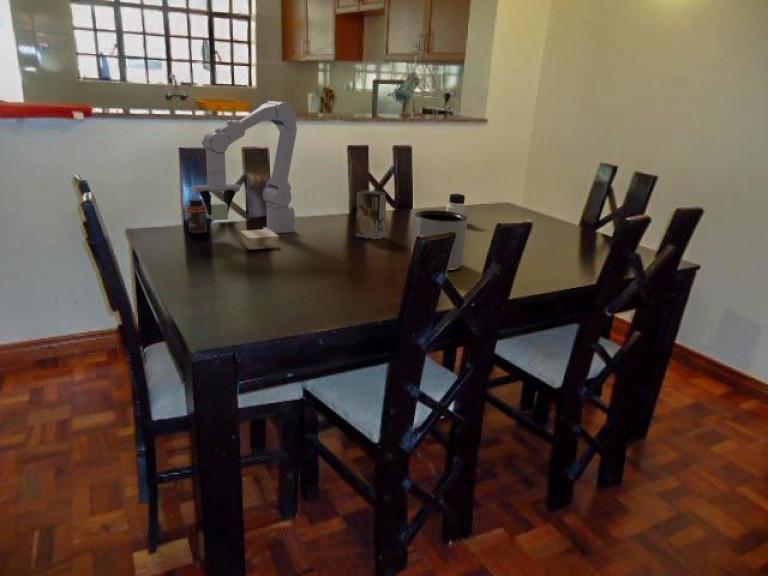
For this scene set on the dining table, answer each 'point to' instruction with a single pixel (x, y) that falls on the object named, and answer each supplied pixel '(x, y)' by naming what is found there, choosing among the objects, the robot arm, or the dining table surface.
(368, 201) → the coffee box
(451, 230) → the planter
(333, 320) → the dining table surface
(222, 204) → the sage cube
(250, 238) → the birch base
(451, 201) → the medicine bottle
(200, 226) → the supplement bottle
